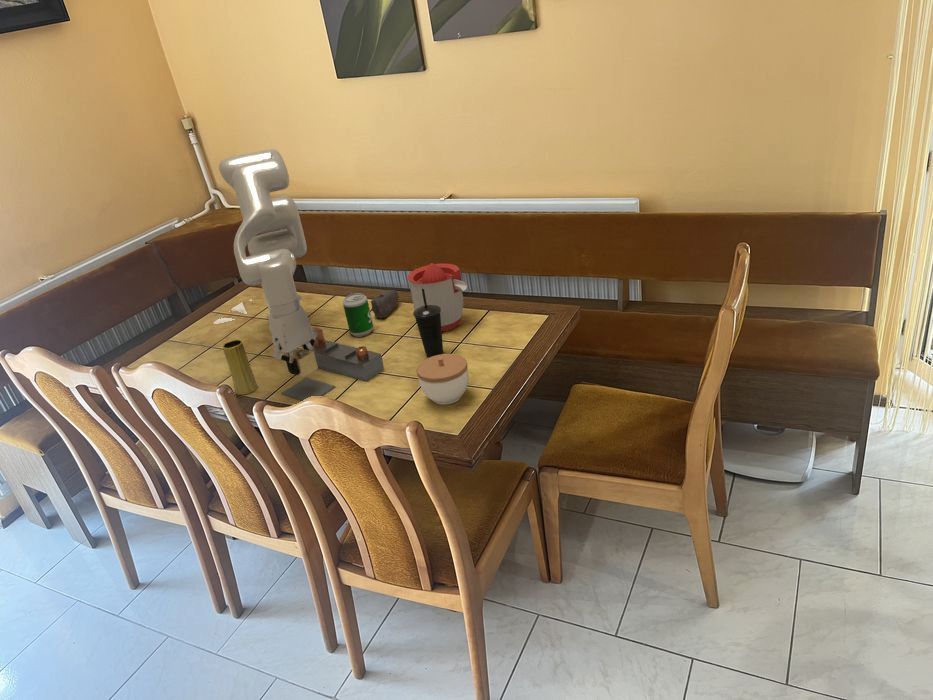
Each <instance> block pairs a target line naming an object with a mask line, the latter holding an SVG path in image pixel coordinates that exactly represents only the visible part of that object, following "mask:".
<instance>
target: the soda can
mask: <svg viewBox="0 0 933 700" xmlns="http://www.w3.org/2000/svg"><path fill="white" fill-rule="evenodd" d="M342 307H343V309H344V314H345V318H346V321H347V328H348V332H349V333H350V334H351V335H353V336H354V337H357V338H358V337H359V338H361V337H366V336H369V335H370V334H371V333H372V331H373V330H374V323H373V319H372V314H371V310H370V306H369V301H368V297H367V296H366V295H364V294H363V293H361V292H359V293H357V292H356V293H352V294H348V295H347V296H345V297H344V299H343V300H342Z"/></svg>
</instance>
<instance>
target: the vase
mask: <svg viewBox="0 0 933 700" xmlns="http://www.w3.org/2000/svg"><path fill="white" fill-rule="evenodd" d="M222 350H223V353H224V356H225V359H226V363H227V365H228V368H229V371H230V373H231V378H232V382H233V383H232V384H233V388H234V391H235V394H237V395H242V396H244V394H245V395H249V394H252V393H253V392H254V391H256V390H257V389H258V388H259V387H258V384H257V381H256V378H255V375H254V372H253V369H252V367H251V364H250V361H249V357H248V355H247V353H246V349H245V347H244V343H243V341H242V340H241V339H232V340H229V341H226V342H225V343H223V345H222Z"/></svg>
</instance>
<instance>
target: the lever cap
mask: <svg viewBox="0 0 933 700" xmlns="http://www.w3.org/2000/svg"><path fill="white" fill-rule="evenodd" d="M293 361H296V364H297V368H298V372H299V375H298V376H301V377H305V378H306V376H308V375H310V374H311V373H312V372H315V371H316V370H318V369H319V368H318V366H317V362H316V359H315V355H314V351H310V350H306V349H303V348H302V347H301V348H300V347H299V348H297V349H295V350H293ZM284 363H285V366H286V370H287V373H290V372H289V371H288V367H287V364H286V361H284Z"/></svg>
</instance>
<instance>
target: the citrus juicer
mask: <svg viewBox="0 0 933 700" xmlns="http://www.w3.org/2000/svg"><path fill="white" fill-rule="evenodd" d="M407 281H408V282H409V283H408V284H409V288H410V293H411V298H412V299H411V300H412V304H413V308H414V310H416V309H417V308H419V307H421V306H424V299H423V294H422V289H424V291H425V297H426V302H427V305H436V306H439V307H440V308H441V312H440V317H441V330H442V332H448V331H451V330H452V329H454V328H457V327H458V326H459V325H460V324H461V323H462V319H463V311H464V295H463V292H465V291H466V290H467V289H468V285H467V283H466V282H465V281H463V280H462V277H461V269H460V267H459V266H458V265H455V264H453V263H433V262H432V263H429V264H427V265H423V266H420V267H418V268H415V269H413V270H412V271H411V272H409V273H408V274H407Z"/></svg>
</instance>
